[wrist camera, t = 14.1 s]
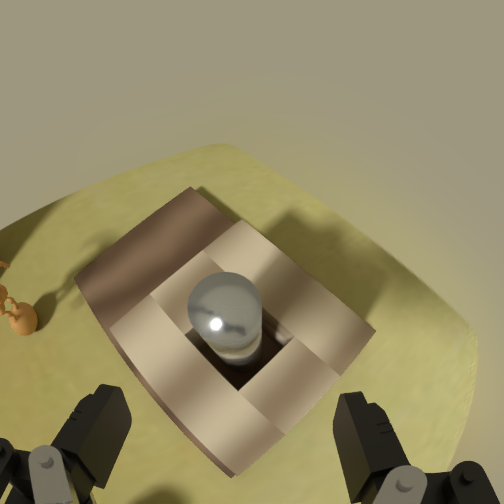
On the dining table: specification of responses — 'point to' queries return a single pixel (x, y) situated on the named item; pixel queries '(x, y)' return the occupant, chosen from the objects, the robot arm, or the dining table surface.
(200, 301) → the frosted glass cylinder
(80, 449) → the robot arm
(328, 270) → the dining table surface
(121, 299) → the walnut board
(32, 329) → the figurine
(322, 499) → the dining table surface
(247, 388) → the beech bead block
